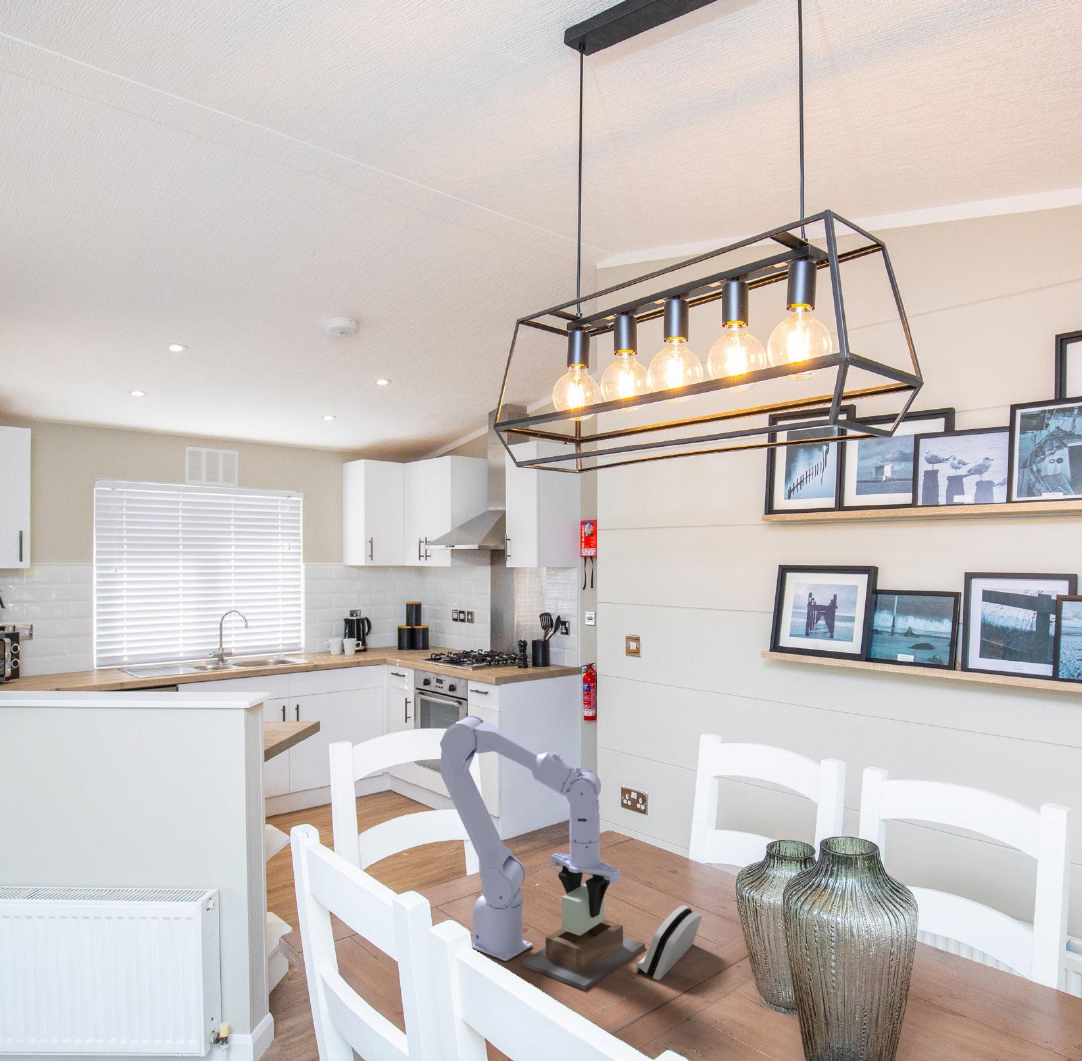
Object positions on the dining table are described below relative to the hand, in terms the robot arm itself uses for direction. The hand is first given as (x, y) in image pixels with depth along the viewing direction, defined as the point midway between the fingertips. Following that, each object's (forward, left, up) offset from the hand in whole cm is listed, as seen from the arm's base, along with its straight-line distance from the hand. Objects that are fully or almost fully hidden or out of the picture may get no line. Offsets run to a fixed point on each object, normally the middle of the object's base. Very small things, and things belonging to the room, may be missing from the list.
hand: (584, 912), depth 150 cm
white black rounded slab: (+13, +9, -8) cm, 18 cm away
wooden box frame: (0, 0, -8) cm, 8 cm away
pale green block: (0, 0, -2) cm, 2 cm away
